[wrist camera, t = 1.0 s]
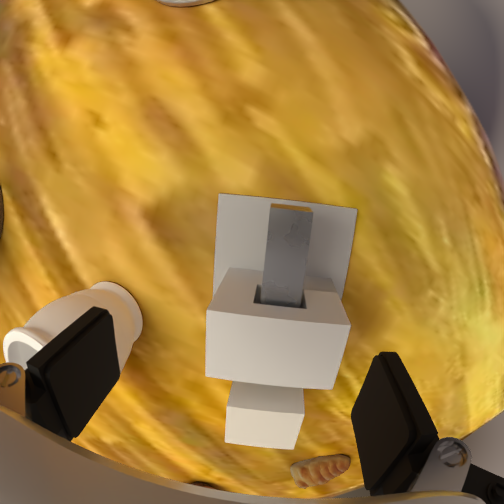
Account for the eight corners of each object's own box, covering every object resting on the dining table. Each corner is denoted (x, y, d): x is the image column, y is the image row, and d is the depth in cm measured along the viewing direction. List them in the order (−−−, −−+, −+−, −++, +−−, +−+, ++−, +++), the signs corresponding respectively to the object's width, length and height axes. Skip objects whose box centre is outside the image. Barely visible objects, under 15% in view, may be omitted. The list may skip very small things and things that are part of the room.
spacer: (234, 375, 24) (226, 405, 20) (302, 382, 24) (304, 414, 20) (231, 412, 25) (224, 442, 22) (292, 418, 25) (293, 449, 21)
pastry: (342, 445, 36) (345, 464, 32) (354, 462, 37) (357, 479, 33) (287, 462, 38) (286, 480, 34) (304, 478, 39) (304, 495, 35)
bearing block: (220, 193, 28) (188, 204, 18) (355, 208, 27) (393, 228, 17) (211, 366, 33) (190, 426, 23) (320, 378, 32) (328, 441, 23)
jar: (153, 358, 34) (99, 443, 19) (87, 338, 34) (21, 403, 20) (150, 280, 31) (70, 354, 16) (78, 265, 31) (-10, 316, 17)
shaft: (271, 202, 23) (270, 207, 20) (309, 207, 23) (313, 212, 20) (249, 397, 28) (246, 417, 26) (277, 400, 28) (277, 420, 25)
